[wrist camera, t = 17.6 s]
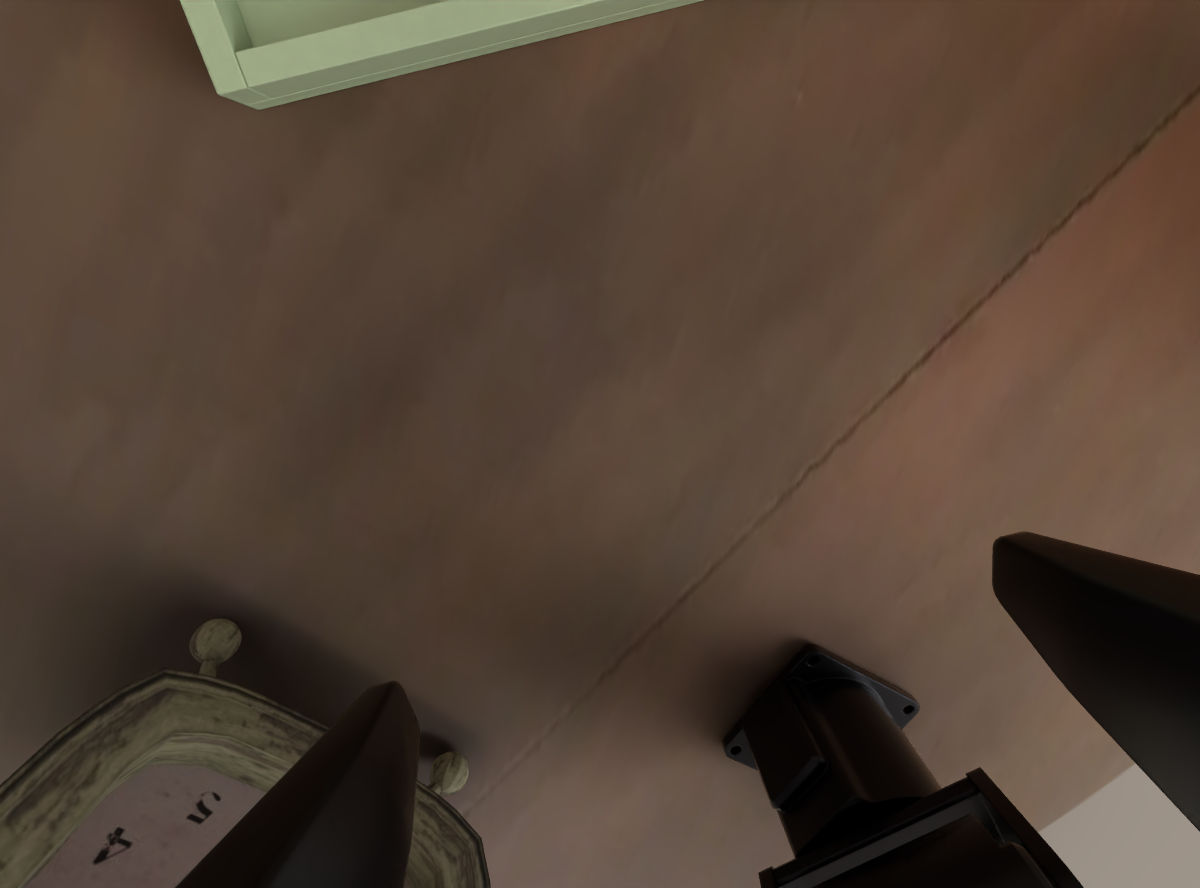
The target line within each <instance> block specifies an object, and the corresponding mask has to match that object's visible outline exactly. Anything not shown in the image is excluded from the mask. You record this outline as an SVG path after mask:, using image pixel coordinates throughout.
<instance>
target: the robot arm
mask: <svg viewBox="0 0 1200 888" xmlns="http://www.w3.org/2000/svg"><path fill="white" fill-rule="evenodd" d="M992 586H993V590H994V593H995V595H996V597H997V599H998V601H999V602H1000V603H1001V605H1002V606H1003V607H1004V609H1005V610H1006V611H1007V613H1008V614H1009V615H1010V616H1011V618H1012V619H1013V620H1014V622H1015V623H1016V624H1017V626H1018V627H1019V628H1020V629H1021V631H1022V632H1023V633H1024V635H1025V636H1026V637H1027V638H1028V640H1029V641H1030V642H1031V644H1032V645H1033V646H1034V648H1035V649H1036V650H1037V651H1038V653H1039V654H1040V655H1041V657H1042V658H1043V659H1044V660H1045V662H1046V663H1047V664H1048V666H1049V667H1050V668H1051V670H1052V671H1053V672H1054V673H1055V675H1056V676H1057V677H1058V678H1059V680H1060V681H1061V682H1062V683H1063V684H1064V686H1065V687H1066V688H1067V689H1068V690H1069V692H1070V693H1071V694H1072V695H1073V696H1074V697H1075V698H1076V699H1077V701H1078V702H1079V703H1080V704H1081V705H1082V706H1083V707H1084V708H1085V709H1086V710H1087V711H1088V713H1089V714H1090V715H1091V716H1092V717H1093V718H1094V719H1095V720H1096V721H1097V722H1098V723H1099V724H1100V725H1101V726H1102V728H1103V729H1104V730H1105V731H1106V732H1107V733H1108V734H1109V735H1110V736H1111V737H1112V738H1113V739H1114V740H1115V741H1116V742H1117V744H1118V745H1119V746H1120V747H1121V748H1122V749H1123V750H1124V751H1125V752H1126V753H1127V754H1128V755H1129V756H1130V757H1131V759H1132V760H1133V761H1134V762H1135V763H1136V764H1137V765H1138V766H1139V767H1140V768H1141V769H1142V770H1143V771H1144V772H1145V774H1146V775H1147V776H1148V777H1149V778H1150V779H1151V780H1152V781H1153V782H1154V783H1155V784H1156V785H1157V786H1158V787H1159V789H1161V791H1162V792H1163V793H1165V795H1166V796H1167V797H1168V798H1169V799H1170V800H1171V801H1172V802H1173V804H1174V805H1175V806H1176V807H1177V808H1178V809H1179V810H1180V811H1181V812H1182V813H1183V814H1184V815H1185V816H1186V817H1187V819H1188V820H1189V821H1191V823H1192V824H1193V825H1194V826H1195V827H1196V828H1197V829H1198V830H1199V831H1200V575H1197V574H1193V573H1189V572H1185V571H1181V570H1177V569H1173V568H1169V567H1165V566H1162V565H1158V564H1154V563H1150V562H1146V561H1142V560H1138V559H1134V558H1130V557H1126V556H1122V555H1118V554H1114V553H1110V552H1106V551H1102V550H1098V549H1094V548H1090V547H1086V546H1082V545H1078V544H1074V543H1070V542H1066V541H1062V540H1058V539H1054V538H1050V537H1046V536H1042V535H1038V534H1034V533H1030V532H1018V533H1014V534H1010V535H1006V536H1001V537H999V538H997V539H996V540H995V541H994V544H993V556H992ZM812 656H815V657H814V658H813V659H809V658H811V657H812ZM919 708H920V706H919V704H918V702H917V701H916V700H915V698H914V697H913V696H912V695H910V694H908V693H906V692H905V691H903V690H901V689H899V688H897V687H895V686H893V685H891V684H889V683H887V682H885V681H883V680H882V679H880V678H878V677H876V676H874V675H872V674H870V673H868V672H866V671H864V670H862V669H861V668H859V667H857V666H855V665H853V664H851V663H849V662H847V661H845V660H843V659H841V658H839V657H838V656H836V655H834V654H832V653H830V652H828V651H826V650H824V649H822V648H820V647H818V646H816V645H808V646H806V647H804V648H803V649H801V651H800V652H799V653H798V654H797V655H796V656H795V657H794V659H793V660H792V661H791V662H790V663H789V664H788V666H787V667H786V668H785V669H784V670H783V671H782V673H781V674H780V675H779V676H778V677H777V678H776V680H775V681H774V682H773V683H772V684H771V685H770V687H769V688H768V689H767V690H766V691H765V692H764V693H763V695H762V696H761V697H760V698H759V699H758V700H757V702H756V703H755V704H754V705H753V706H752V707H751V709H750V710H749V711H748V712H747V713H746V714H745V716H744V717H743V718H742V719H741V720H740V721H739V723H738V724H737V725H736V726H735V727H734V728H733V730H732V731H731V732H730V733H729V734H728V735H727V736H726V738H725V739H724V741H723V748H724V751H725V754H726V756H728V757H729V758H731V759H733V760H735V761H738V762H740V763H742V764H745V765H747V766H749V767H751V768H754V769H756V770H758V771H759V774H760V776H761V779H762V782H763V784H764V787H765V790H766V792H767V795H768V798H769V800H770V803H771V806H772V807H773V808H774V809H777V812H778V815H779V817H780V820H781V823H782V825H783V828H784V830H785V833H786V836H787V838H788V841H789V844H790V846H791V849H792V851H793V854H794V857H795V859H793V860H791V861H789V862H787V863H785V864H783V865H781V866H778V867H776V868H773V867H772V866H771V867H769V868H767V869H765V870H763V871H761V872H759V879H760V884H761V888H1083V886H1082V885H1081V884H1080V882H1079V881H1078V880H1077V879H1076V877H1075V876H1074V875H1073V874H1072V872H1071V871H1070V870H1069V869H1068V867H1067V866H1066V865H1065V864H1064V862H1063V861H1062V860H1061V859H1060V858H1059V856H1058V855H1057V854H1056V853H1055V852H1054V851H1053V849H1052V848H1051V847H1050V846H1049V845H1048V844H1047V843H1046V841H1045V840H1044V839H1043V838H1042V837H1041V836H1040V835H1039V834H1038V832H1037V831H1036V830H1035V829H1034V828H1033V827H1032V826H1031V824H1030V823H1029V822H1028V821H1027V820H1026V819H1025V818H1024V816H1023V815H1022V814H1021V813H1020V812H1019V811H1018V810H1017V809H1016V807H1015V806H1014V805H1013V804H1012V803H1011V802H1010V801H1009V799H1008V798H1007V797H1006V796H1005V795H1004V794H1003V793H1002V792H1001V790H1000V789H999V788H998V787H997V786H996V785H995V784H994V782H993V781H992V780H991V779H990V778H989V777H988V776H987V774H986V773H985V772H984V771H983V770H982V769H981V768H980V767H979V768H977V769H975V770H973V771H971V772H969V773H966V776H967V777H965V778H963V779H961V780H959V781H957V782H955V783H953V784H951V785H949V786H946V787H944V788H941V787H940V785H939V784H938V783H937V781H936V780H935V778H934V777H933V775H932V774H931V772H930V771H929V769H928V768H927V766H926V765H925V764H924V762H923V761H922V759H921V758H920V756H919V755H918V753H917V752H916V750H915V749H914V747H913V746H912V745H911V743H910V742H909V740H908V739H907V737H906V736H905V734H904V733H903V731H902V729H903V728H904V726H905V725H906V724H907V723H908V722H909V721H910V720H911V719H912V718H913V717H914V716H915V715H916V714H917V713H918V711H919ZM419 745H420V729H419V724H418V720H417V718H416V716H415V713H414V711H413V709H412V707H411V704H410V702H409V700H408V698H407V695H406V693H405V691H404V689H403V687H402V685H401V684H400V683H399V682H396V681H391V682H387V683H383V684H379V685H374V686H372V687H370V688H368V689H367V690H366V691H365V692H364V693H363V694H362V695H361V696H360V697H359V698H358V699H357V700H356V701H355V702H354V703H353V705H352V706H351V707H350V708H349V709H348V710H347V711H346V712H345V713H344V714H343V715H342V716H341V717H340V718H339V719H338V720H337V721H336V722H335V723H334V724H333V725H332V726H331V727H330V728H329V729H328V730H327V731H326V732H325V733H324V734H323V735H322V736H321V738H320V739H319V740H318V741H317V742H316V743H315V744H314V745H313V746H312V747H311V748H310V749H309V750H308V751H307V752H306V753H305V754H304V755H303V756H302V757H301V758H300V759H299V760H298V761H297V762H296V763H295V764H294V765H293V766H292V767H291V768H290V769H289V770H288V772H287V773H286V774H285V775H284V776H283V777H282V778H281V779H280V780H279V781H278V782H277V783H276V784H275V785H274V786H273V787H272V788H271V789H270V790H269V791H268V792H267V793H266V794H265V795H264V796H263V797H262V798H261V799H260V800H259V801H258V802H257V803H256V804H255V805H254V807H253V808H252V809H251V810H250V811H249V812H248V813H247V814H246V815H245V816H244V817H243V818H242V819H241V820H240V821H239V822H238V823H237V824H236V825H235V826H234V827H233V828H232V829H231V830H230V831H229V832H228V833H227V834H226V835H225V836H224V837H223V838H222V839H221V840H220V842H219V843H218V844H217V845H216V846H215V847H214V848H213V849H212V850H211V851H210V852H209V853H208V854H207V855H206V856H205V857H204V858H203V859H202V860H201V861H200V862H199V863H198V864H197V865H196V866H195V867H194V868H193V869H192V870H191V871H190V872H189V873H188V874H187V875H186V877H185V878H184V879H183V880H182V881H181V882H180V883H179V884H178V885H177V886H176V887H175V888H404V884H405V878H406V873H407V867H408V862H409V855H410V849H411V842H412V833H413V822H414V809H415V797H416V784H417V771H418V758H419ZM733 746H736V747H733Z"/></svg>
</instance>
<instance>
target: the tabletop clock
mask: <svg viewBox="0 0 1200 888" xmlns="http://www.w3.org/2000/svg"><path fill="white" fill-rule="evenodd" d="M241 639H242V636H241V632H240V630H239V628H238V626H237V625H236V624H235V623H233V622H232V621H230V620H227V619H212V620H209V621H207V622H205V623H203V624H202V625H201V626H200V627H199V628H198V629H197V630H196V631H195V633H194V634H193V636H192V637H191V639H190V644H189V647H190V652H191V654H192V655H193V657H194V658H195V659H196V660H197V661H198V662H200V663H202V665H201V668H200V670H199V673H192V672H186V671H180V670H174V669H169V668H162V669H160V670H158V671H156V672H154V673H152V674H150V675H148V676H145V677H143V678H141V679H139V680H137V681H135V682H133V683H131V684H129V685H127V686H124V687H122V688H120V689H118V690H116V691H115V692H113V693H112V694H111V695H109V696H108V697H106V698H105V699H103V700H102V701H101V702H99V703H98V704H96V705H95V706H93V707H92V708H91V709H89V710H88V711H86V712H85V713H84V714H82V715H81V716H80V717H78V718H77V719H76V720H74V721H73V722H72V723H70V724H69V725H68V726H66V727H65V728H64V729H62V730H61V731H60V732H58V733H57V734H56V735H55V736H54V737H53V738H52V739H51V740H49V741H48V742H47V743H46V744H45V745H44V746H43V747H42V748H41V749H40V750H38V751H37V752H36V753H35V754H34V755H33V756H32V757H31V758H30V759H28V760H27V761H26V762H25V763H24V764H23V765H22V766H21V767H20V768H19V769H17V770H16V771H15V772H14V773H13V774H12V775H11V776H10V777H9V778H8V779H6V780H5V781H4V782H3V783H2V784H1V785H0V888H175V887H176V886H177V885H178V884H179V883H180V882H181V881H182V880H183V879H184V878H185V877H186V875H187V874H188V873H189V872H190V871H191V870H192V869H193V868H194V867H195V866H196V865H197V864H198V863H199V862H200V861H201V860H202V859H203V858H204V857H205V856H206V855H207V854H208V853H209V852H210V851H211V850H212V849H213V848H214V847H215V846H216V845H217V844H218V843H219V842H220V840H221V839H222V838H223V837H224V836H225V835H226V834H227V833H228V832H229V831H230V830H231V829H232V828H233V827H234V826H235V825H236V824H237V823H238V822H239V821H240V820H241V819H242V818H243V817H244V816H245V815H246V814H247V813H248V812H249V811H250V810H251V809H252V808H253V807H254V805H255V804H256V803H257V802H258V801H259V800H260V799H261V798H262V797H263V796H264V795H265V794H266V793H267V792H268V791H269V790H270V789H271V788H272V787H273V786H274V785H275V784H276V783H277V782H278V781H279V780H280V779H281V778H282V777H283V776H284V775H285V774H286V773H287V772H288V770H289V769H290V768H291V767H292V766H293V765H294V764H295V763H296V762H297V761H298V760H299V759H300V758H301V757H302V756H303V755H304V754H305V753H306V752H307V751H308V750H309V749H310V748H311V747H312V746H313V745H314V744H315V743H316V742H317V741H318V740H319V739H320V738H321V736H322V735H323V734H324V733H325V732H326V731H327V730H328V729H329V728H330V727H329V726H327V725H325V724H322V723H320V722H318V721H316V720H314V719H312V718H310V717H308V716H306V715H303V714H301V713H299V712H297V711H295V710H293V709H291V708H289V707H287V706H284V705H282V704H280V703H278V702H276V701H274V700H272V699H270V698H268V697H265V696H263V695H261V694H259V693H256V692H254V691H252V690H250V689H247V688H245V687H243V686H240V685H238V684H235V683H232V682H229V681H225V680H222V679H219V678H217V673H218V667H219V664H220V663H222V662H224V661H226V660H228V659H229V658H230V657H231V656H232V655H233V654H234V653H235V652H236V651H237V650H238V648H239V646H240V644H241ZM468 776H469V770H468V763H467V760H466V758H464V757H463V756H462V755H461V754H460V753H457V752H447V753H445V754H442V755H440V756H439V757H438V758H437V759H436V760H435V761H434V763H433V764H432V766H431V770H430V781H431V784H430V785H429V786H425V785H424V784H422V783H421V782H420V781H418V780H417V784H416V797H415V809H414V822H413V833H412V842H411V849H410V855H409V862H408V867H407V873H406V878H405V884H404V888H491V887H490V878H489V874H488V869H487V864H486V859H485V854H484V849H483V844H482V839H481V837H480V836H479V835H478V834H477V833H476V831H475V830H474V829H473V828H472V827H471V826H470V825H469V824H468V822H467V821H466V820H465V819H464V818H463V817H462V816H461V815H460V813H459V812H458V811H457V810H456V809H455V808H454V807H452V806H451V805H450V804H449V803H448V802H447V801H445V800H444V799H443V798H442V797H441V796H440V795H439V794H441V795H445V796H448V795H453V794H455V793H457V792H459V791H460V790H461V789H462V788H463V787H464V786H465V784H466V782H467V780H468Z"/></svg>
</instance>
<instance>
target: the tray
mask: <svg viewBox="0 0 1200 888" xmlns="http://www.w3.org/2000/svg"><path fill="white" fill-rule="evenodd" d="M700 1H704V0H180V2H181V5H182V7H183V10H184V12H185V15H186V17H187V20H188V22H189V25H190V27H191V30H192V32H193V35H194V37H195V40H196V42H197V45H198V47H199V50H200V52H201V55H202V57H203V60H204V62H205V65H206V67H207V70H208V72H209V75H210V77H211V80H212V82H213V85H214V87H215V90H216V92H217V94H218V95H220V96H223V97H226V98H228V99H231V100H234V101H236V102H239V103H242V104H245V105H247V106H249V107H252V108H255V109H257V110H261V109H265V108H269V107H273V106H277V105H281V104H285V103H289V102H293V101H297V100H301V99H305V98H309V97H313V96H318V95H322V94H326V93H330V92H334V91H338V90H342V89H346V88H350V87H354V86H358V85H362V84H366V83H370V82H375V81H379V80H383V79H387V78H391V77H395V76H399V75H403V74H407V73H411V72H415V71H419V70H423V69H427V68H432V67H436V66H440V65H444V64H448V63H452V62H456V61H460V60H464V59H468V58H472V57H476V56H480V55H484V54H489V53H493V52H497V51H501V50H505V49H509V48H513V47H517V46H521V45H525V44H529V43H533V42H537V41H541V40H546V39H550V38H554V37H558V36H562V35H566V34H570V33H574V32H578V31H582V30H586V29H590V28H594V27H598V26H603V25H607V24H611V23H615V22H619V21H623V20H627V19H631V18H635V17H639V16H643V15H647V14H651V13H655V12H660V11H664V10H668V9H672V8H676V7H680V6H684V5H688V4H692V3H696V2H700Z"/></svg>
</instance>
